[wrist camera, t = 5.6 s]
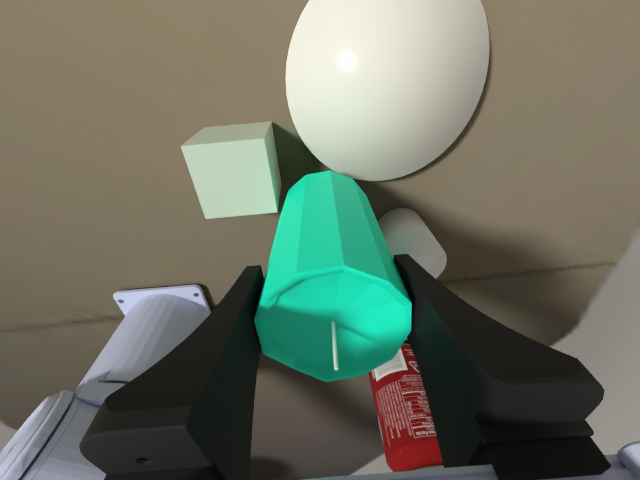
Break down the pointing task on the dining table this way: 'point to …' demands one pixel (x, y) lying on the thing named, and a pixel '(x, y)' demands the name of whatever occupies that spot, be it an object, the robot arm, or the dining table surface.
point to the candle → (331, 284)
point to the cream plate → (385, 81)
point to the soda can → (404, 414)
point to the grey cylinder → (412, 239)
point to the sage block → (235, 169)
